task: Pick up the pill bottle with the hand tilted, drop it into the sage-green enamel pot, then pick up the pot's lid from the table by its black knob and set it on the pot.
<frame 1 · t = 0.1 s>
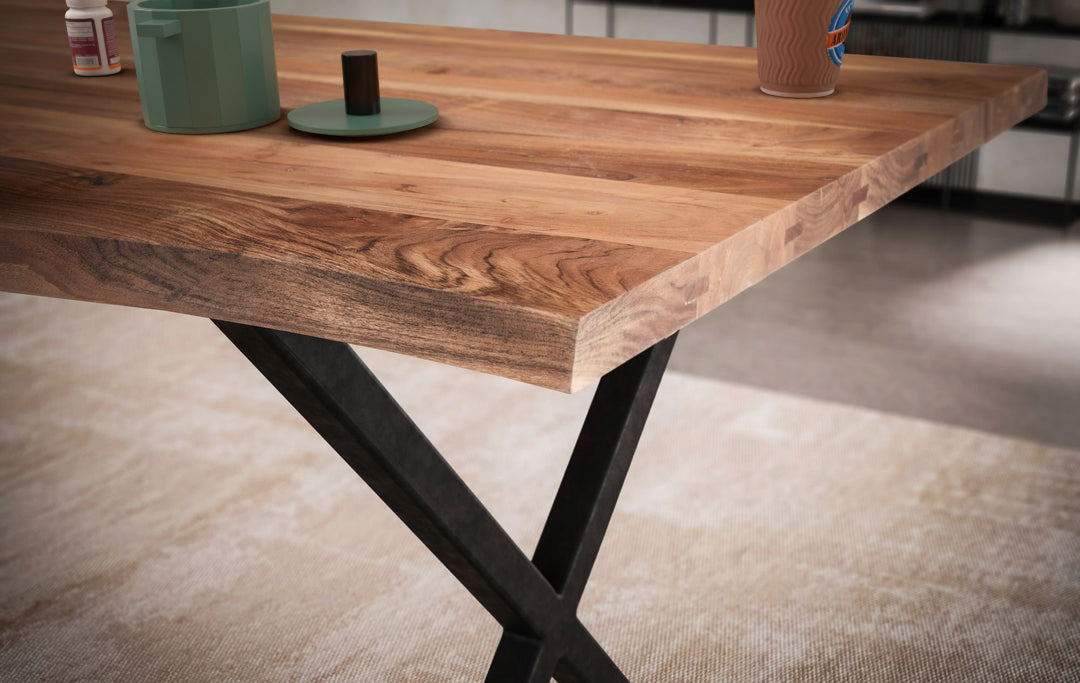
pot: (213, 118, 103), on the table
coffee cup: (796, 92, 112), on the table
pill bottle: (98, 74, 124), on the table
lid: (363, 118, 100), point 1 cm above the table
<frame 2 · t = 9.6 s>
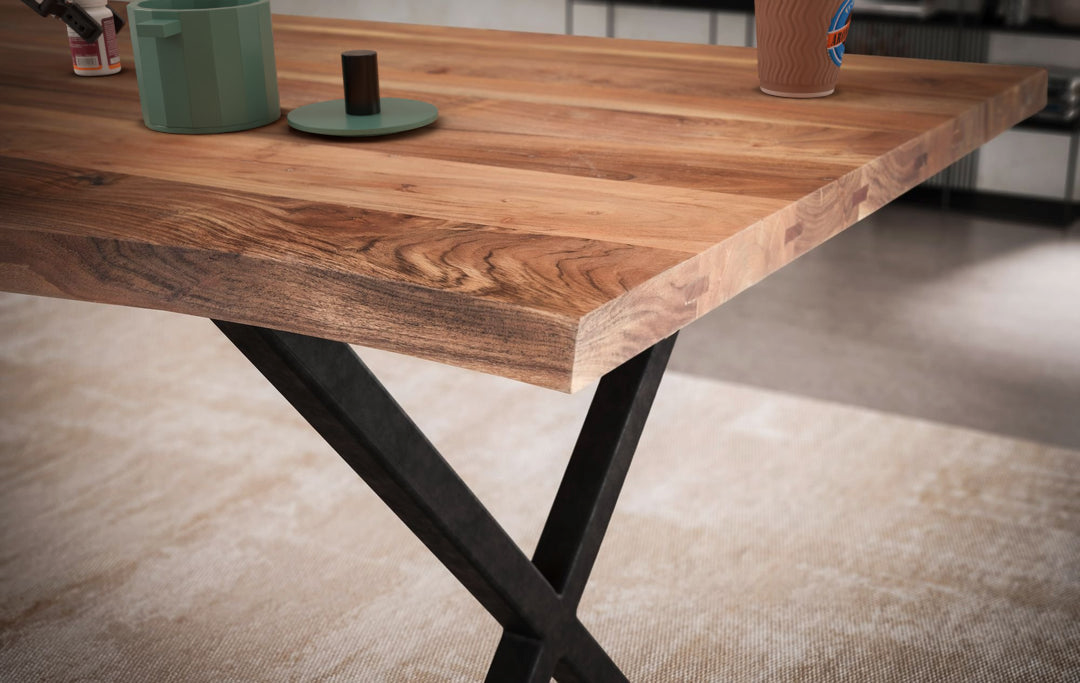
hand: (108, 32, 122), 4 cm above the table, tool tilted 45°, fingers closed on pill bottle, 4 cm apart
pill bottle: (98, 74, 124), on the table, touching gripper
everything else where it was.
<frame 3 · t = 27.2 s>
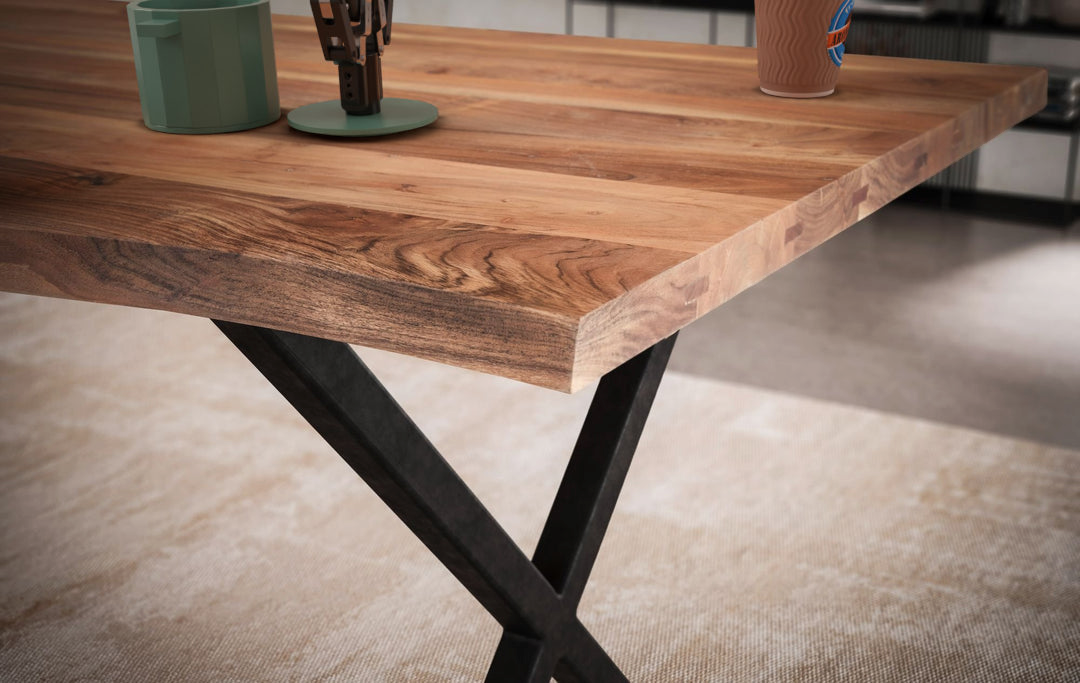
hand: (362, 104, 99), 2 cm above the table, tool pointing down, fingers closed on lid, 3 cm apart
pill bottle: (210, 116, 102), resting on pot
lid: (363, 118, 100), point 1 cm above the table, touching gripper
everything else where it was.
when the fingers open (11 cm above the table, at t = 35.7 s): lid stays where it is, resting on pot.
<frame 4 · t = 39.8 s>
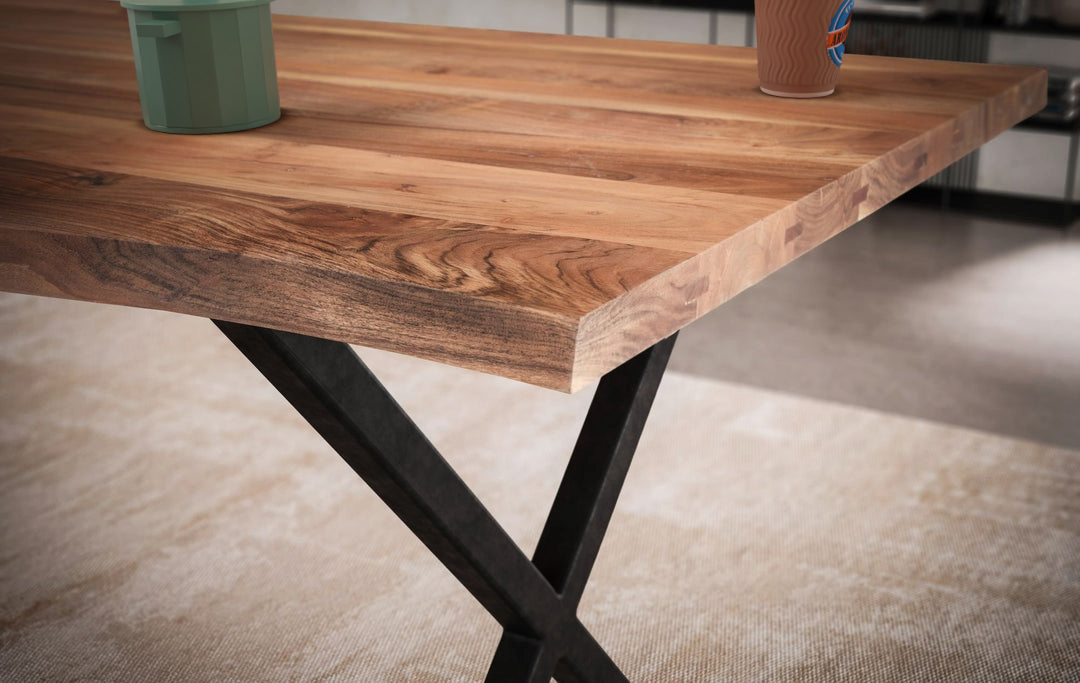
lid: (200, 1, 99), point 10 cm above the table, touching pot
everything else where it was.
at the end: pill bottle inside the target area in the pot (0.3 cm from its centre), point 0.3 cm above the pot's base; lid 0.0 cm off-centre on the pot, point 10.0 cm above the pot's base; lid tilted 0° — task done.
